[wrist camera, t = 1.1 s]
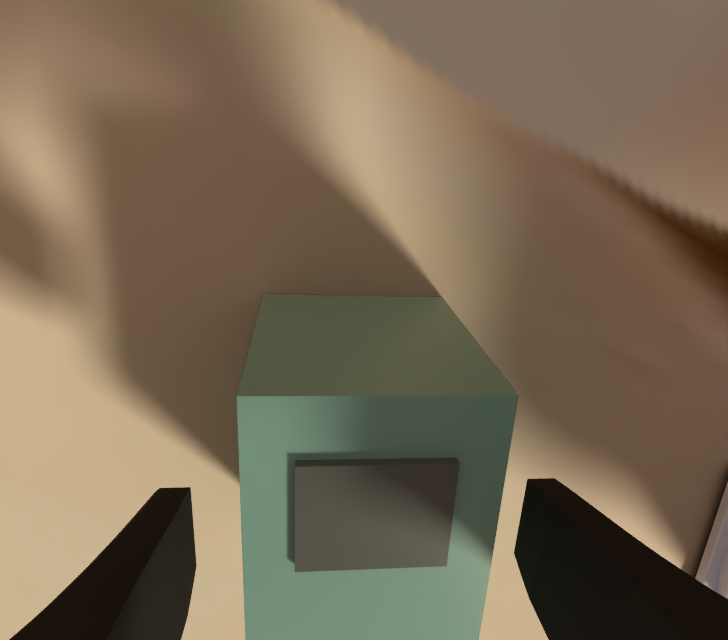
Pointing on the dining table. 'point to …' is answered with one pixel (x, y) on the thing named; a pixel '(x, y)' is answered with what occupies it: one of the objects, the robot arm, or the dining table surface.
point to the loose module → (368, 469)
